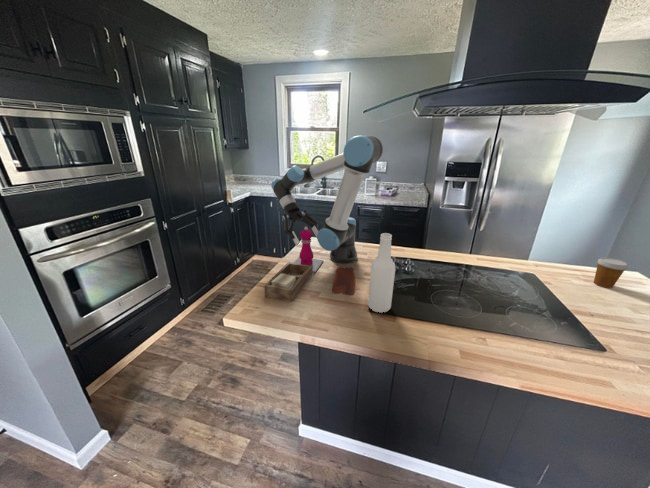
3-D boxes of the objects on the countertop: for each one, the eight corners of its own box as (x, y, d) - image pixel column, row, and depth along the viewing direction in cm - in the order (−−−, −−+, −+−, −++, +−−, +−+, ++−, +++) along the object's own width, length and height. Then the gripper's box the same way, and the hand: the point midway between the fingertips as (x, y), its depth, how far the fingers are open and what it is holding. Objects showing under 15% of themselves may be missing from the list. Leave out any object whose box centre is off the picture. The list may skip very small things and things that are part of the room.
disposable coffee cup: (596, 288, 119) (607, 264, 114) (584, 278, 127) (593, 255, 123) (623, 291, 116) (635, 267, 112) (608, 281, 124) (619, 258, 120)
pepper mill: (304, 267, 132) (303, 230, 125) (297, 262, 138) (295, 226, 130) (316, 264, 136) (316, 227, 129) (308, 259, 142) (308, 223, 134)
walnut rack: (311, 275, 127) (311, 265, 125) (292, 301, 106) (292, 290, 104) (288, 271, 131) (287, 262, 129) (265, 296, 109) (264, 285, 108)
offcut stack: (298, 288, 116) (298, 275, 114) (290, 298, 108) (289, 285, 106) (280, 284, 118) (279, 273, 116) (270, 295, 110) (270, 282, 108)
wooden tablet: (354, 297, 111) (355, 293, 110) (331, 295, 112) (331, 291, 111) (355, 268, 136) (356, 265, 135) (336, 267, 137) (336, 264, 136)
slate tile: (323, 261, 142) (323, 260, 141) (315, 273, 129) (315, 271, 129) (299, 258, 145) (299, 256, 145) (288, 269, 133) (288, 267, 132)
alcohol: (363, 305, 104) (368, 233, 93) (377, 298, 109) (384, 229, 98) (380, 316, 98) (388, 240, 87) (395, 307, 103) (404, 235, 92)
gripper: (305, 206, 146) (323, 238, 141) (266, 213, 130) (285, 250, 125) (311, 198, 141) (330, 231, 136) (271, 205, 125) (291, 243, 120)
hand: (308, 240), depth 131 cm, fingers open, 13 cm apart
